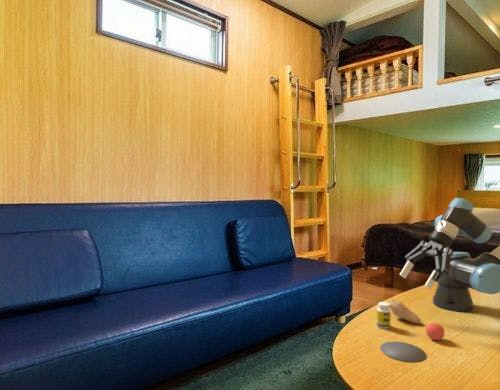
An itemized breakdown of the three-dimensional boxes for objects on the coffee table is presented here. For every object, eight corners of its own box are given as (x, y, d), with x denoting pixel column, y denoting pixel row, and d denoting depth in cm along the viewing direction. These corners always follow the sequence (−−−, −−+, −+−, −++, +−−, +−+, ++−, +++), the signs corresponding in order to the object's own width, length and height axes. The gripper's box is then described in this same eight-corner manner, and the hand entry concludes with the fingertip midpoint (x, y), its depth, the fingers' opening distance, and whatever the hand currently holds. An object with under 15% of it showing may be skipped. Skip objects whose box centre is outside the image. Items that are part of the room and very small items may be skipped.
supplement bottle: (383, 330, 126) (384, 306, 125) (373, 325, 130) (374, 302, 129) (393, 327, 128) (393, 304, 127) (382, 322, 132) (383, 300, 132)
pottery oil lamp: (414, 328, 127) (414, 309, 127) (383, 318, 136) (383, 300, 136) (425, 322, 133) (425, 303, 133) (394, 313, 142) (394, 295, 142)
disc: (408, 340, 117) (408, 340, 117) (436, 360, 104) (436, 359, 104) (372, 343, 114) (372, 343, 114) (396, 364, 102) (396, 363, 102)
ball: (436, 335, 121) (436, 319, 121) (448, 342, 116) (448, 325, 116) (422, 336, 120) (422, 320, 120) (433, 343, 115) (433, 327, 115)
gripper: (414, 224, 145) (386, 267, 143) (464, 235, 121) (432, 287, 119) (426, 234, 147) (399, 277, 145) (478, 246, 123) (447, 298, 121)
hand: (414, 281), depth 132 cm, fingers open, 13 cm apart
